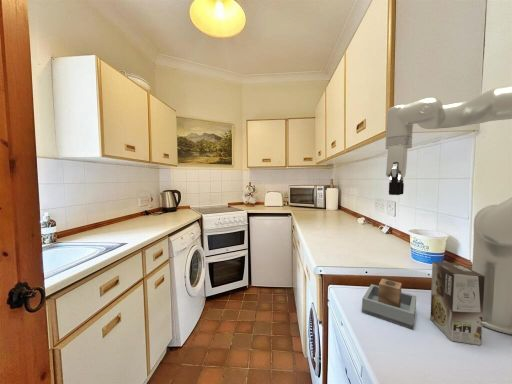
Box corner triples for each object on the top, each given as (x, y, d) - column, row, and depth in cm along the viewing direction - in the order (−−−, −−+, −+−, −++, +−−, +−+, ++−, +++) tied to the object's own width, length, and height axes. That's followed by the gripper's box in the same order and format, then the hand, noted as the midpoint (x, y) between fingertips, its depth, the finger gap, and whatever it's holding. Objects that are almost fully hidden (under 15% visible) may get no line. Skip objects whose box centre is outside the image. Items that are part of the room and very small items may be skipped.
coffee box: (482, 346, 51) (487, 276, 51) (450, 341, 52) (454, 273, 52) (456, 322, 60) (459, 262, 60) (428, 318, 61) (431, 260, 61)
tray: (415, 309, 66) (416, 295, 66) (413, 329, 56) (413, 314, 56) (370, 296, 73) (371, 284, 73) (361, 312, 64) (362, 298, 64)
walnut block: (400, 306, 65) (401, 282, 65) (398, 314, 61) (399, 288, 61) (381, 300, 68) (382, 277, 68) (377, 307, 64) (378, 283, 64)
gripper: (389, 148, 85) (387, 193, 85) (381, 140, 71) (379, 194, 72) (413, 146, 80) (411, 194, 81) (410, 138, 66) (407, 195, 67)
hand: (396, 194), depth 76 cm, fingers open, 9 cm apart
